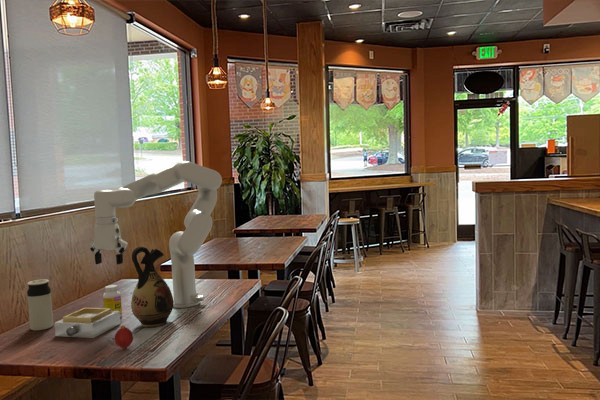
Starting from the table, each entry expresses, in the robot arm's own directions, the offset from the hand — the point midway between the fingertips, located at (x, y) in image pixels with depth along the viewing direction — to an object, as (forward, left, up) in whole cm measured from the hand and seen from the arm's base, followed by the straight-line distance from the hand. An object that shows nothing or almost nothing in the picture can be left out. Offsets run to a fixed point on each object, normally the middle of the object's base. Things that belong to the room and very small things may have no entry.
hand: (109, 263), depth 200 cm
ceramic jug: (-21, +6, -22) cm, 31 cm away
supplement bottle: (0, 0, -22) cm, 22 cm away
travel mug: (+21, +15, -22) cm, 34 cm away
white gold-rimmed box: (0, +15, -22) cm, 26 cm away
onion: (-26, +31, -22) cm, 46 cm away
